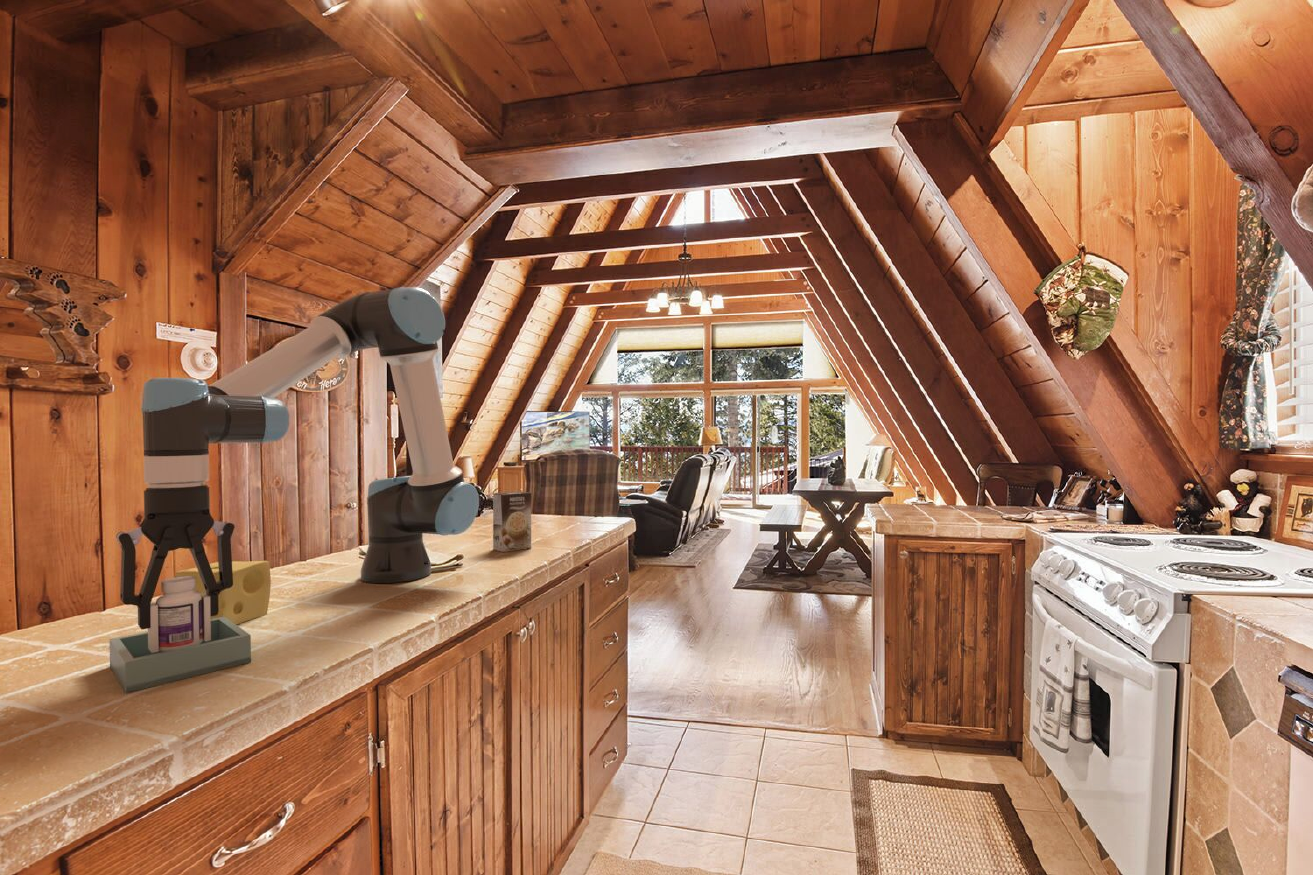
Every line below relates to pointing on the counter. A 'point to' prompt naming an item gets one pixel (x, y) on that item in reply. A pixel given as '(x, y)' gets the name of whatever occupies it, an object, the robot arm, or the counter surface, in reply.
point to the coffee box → (511, 521)
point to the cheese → (239, 590)
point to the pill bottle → (179, 614)
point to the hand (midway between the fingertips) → (180, 643)
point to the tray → (177, 657)
